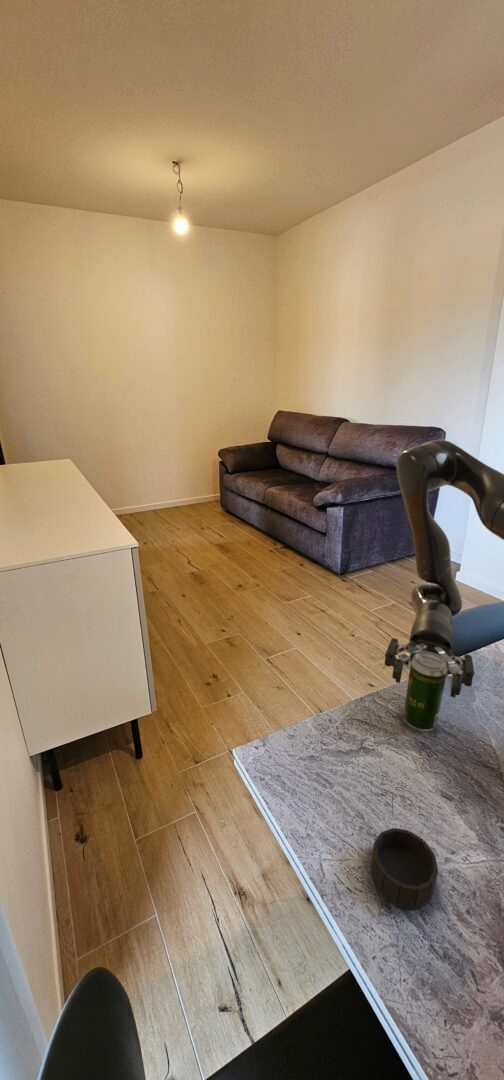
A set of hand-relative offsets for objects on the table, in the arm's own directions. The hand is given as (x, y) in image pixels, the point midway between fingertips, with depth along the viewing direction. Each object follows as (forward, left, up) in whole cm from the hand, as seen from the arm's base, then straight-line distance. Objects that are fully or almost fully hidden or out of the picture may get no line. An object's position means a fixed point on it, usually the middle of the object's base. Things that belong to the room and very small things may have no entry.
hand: (425, 685), depth 73 cm
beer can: (0, 0, -7) cm, 7 cm away
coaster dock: (+6, +27, -7) cm, 28 cm away
